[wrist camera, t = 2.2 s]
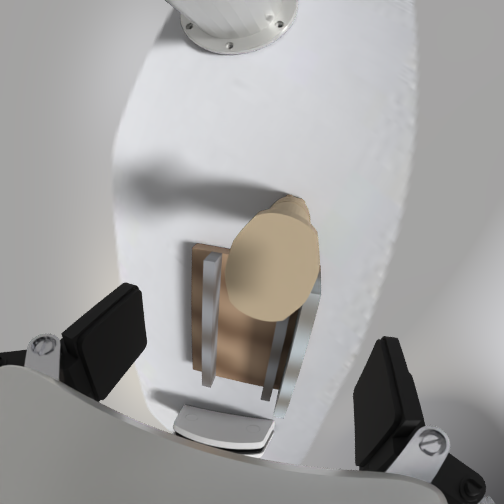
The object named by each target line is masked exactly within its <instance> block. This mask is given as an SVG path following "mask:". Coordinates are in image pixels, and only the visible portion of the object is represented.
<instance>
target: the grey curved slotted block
mask: <svg viewBox="0 0 504 504" xmlns="http://www.w3.org/2000/svg"><path fill="white" fill-rule="evenodd" d="M274 426H275V422H274V420H267V419H259V418H252V417H245V416H239V415H233V414H227V413H221V412H216V411H211V410H206V409H202V408H197V407H193V406H188V405H184V406H183V407H182V409H181V411H180V413H179V414H178V416H177V418H176V420H175V421H174V425H173V429H174V431H175V432H174V435H176V436H179V437H182V438H185V439H188V440H191V441H194V442H197V443H200V444H204V445H207V446H210V447H214V448H218V449H221V450H225V451H229V452H233V453H237V454H241V455H245V456H250V457H255V458H260V457H261V456H262V455H263V453H264V451H265V449H266V447H267V445H268V444H269V442H270V440H271V439H272V436H273V433H274V431H273V428H274Z"/></svg>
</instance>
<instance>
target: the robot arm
mask: <svg viewBox="0 0 504 504" xmlns="http://www.w3.org/2000/svg"><path fill="white" fill-rule="evenodd" d="M165 1H166V2H168V3H169V4H170V5H171V6H173V7H174V8H175V9H177V10H178V11H179V12H180V20H181V25H182V28H183V30H184V32H185V33H186V35H187V36H188V37H189V39H191V40H192V41H193V42H194V43H195V44H197V45H198V46H200V47H202V48H203V49H206V50H208V51H211V52H214V53H219V54H232V55H234V54H243V53H248V52H252V51H256V50H259V49H261V48H263V47H266V46H268V45H270V44H271V43H273V42H275V41H276V40H278V39H279V38H280V37H281V36H282V35H284V34H285V33H286V32H287V30H288V29H289V28H290V27H291V25H292V24H293V22H294V20H295V18H296V15H297V10H298V0H165ZM279 26H283V27H281V28H278V27H279ZM191 28H192V29H191ZM231 46H233V48H231V49H229V48H230V47H231ZM62 337H63V338H62V339H61V340H59V338H58V337H56V336H55V335H52V334H41V335H38V336H36V337H35V338H33V339H32V340H31V341H30V342H29V345H28V347H27V350H21V351H12V352H3V353H0V504H495V503H494V502H493V500H492V499H491V498H490V496H488V497H487V498H486V497H485V496H484V494H485V492H486V485H485V481H484V480H483V478H482V477H481V476H480V475H479V474H478V473H476V472H475V471H473V470H472V469H471V468H469V467H468V466H466V465H465V464H464V463H462V462H461V461H459V460H458V459H457V458H455V457H454V456H452V455H451V454H450V453H449V450H450V440H449V438H448V436H447V434H446V433H445V432H444V431H443V430H442V429H440V428H438V427H436V426H425V422H424V418H423V414H422V410H421V406H420V403H419V399H418V395H417V392H416V388H415V384H414V381H413V378H412V375H411V374H410V373H409V371H408V368H407V365H406V362H405V359H404V355H403V352H402V349H401V346H400V343H399V340H398V338H394V337H386V336H384V337H382V338H381V340H380V339H378V340H377V341H376V343H375V345H374V348H373V350H372V352H371V355H370V357H369V359H368V361H367V364H366V366H365V368H364V370H363V372H362V374H361V376H360V378H359V380H358V382H357V384H356V386H355V389H354V393H353V400H354V422H355V463H356V466H359V471H357V470H340V469H328V468H319V467H309V466H302V465H294V464H288V463H281V462H275V461H270V460H264V459H259V458H255V457H250V456H245V455H241V454H237V453H233V452H229V451H225V450H221V449H218V448H214V447H210V446H207V445H204V444H200V443H197V442H194V441H191V440H188V439H185V438H182V437H179V436H176V435H173V434H170V433H168V432H165V431H162V430H160V429H157V428H155V427H152V426H149V425H147V424H145V423H142V422H140V421H137V420H135V419H133V418H131V417H128V416H126V415H124V414H122V413H120V412H117V411H115V410H113V409H111V408H109V407H107V406H105V405H103V404H101V403H99V401H100V400H104V399H105V398H106V397H107V395H108V394H109V393H110V392H111V390H112V389H113V388H114V387H115V385H116V384H117V383H118V382H119V380H120V379H121V378H122V377H123V375H124V374H125V373H126V372H127V370H128V369H129V368H130V367H131V365H132V364H133V363H134V362H135V360H136V359H137V358H138V357H139V355H140V354H141V353H142V352H143V350H144V349H145V348H146V345H147V337H146V329H145V321H144V312H143V302H142V292H141V291H140V290H139V288H138V286H136V285H132V284H129V283H123V284H122V285H120V286H119V287H118V288H117V289H115V290H114V291H113V292H111V293H110V294H109V295H108V296H106V297H105V298H104V299H103V300H101V301H100V302H99V303H98V304H96V305H95V306H94V307H93V308H91V309H90V310H89V311H88V312H87V313H85V314H84V315H83V316H82V317H81V318H79V319H78V320H77V321H76V322H74V324H72V325H71V326H70V327H68V328H67V330H65V331H64V332H63V333H62Z"/></svg>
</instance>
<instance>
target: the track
mask: <svg viewBox="0 0 504 504" xmlns="http://www.w3.org/2000/svg"><path fill="white" fill-rule="evenodd" d="M229 252H230V249H227V248H221V247H216V246H210V245H205V244H199V243H197V244H196V245H195V246H194V247H192V292H191V305H192V359H193V369H194V370H197V371H201V372H202V385H203V386H206V387H211V385H212V383H213V381H214V378H215V376H219V377H223V378H227V379H231V380H236V381H240V382H244V383H249V384H253V385H258V386H263V391H262V396H261V400H265V401H270V397H271V393H272V389H278V395H277V400H276V405H275V410H274V415H273V417H277V418H283V419H284V417H285V414H286V411H287V408H288V405H289V402H290V399H291V396H292V393H293V390H294V387H295V384H296V381H297V378H298V375H299V372H300V368H301V365H302V362H303V359H304V355H305V352H306V349H307V345H308V342H309V338H310V335H311V331H312V327H313V324H314V320H315V316H316V313H317V309H318V305H319V301H320V297H321V266H319V273H318V276H317V279H316V282H315V284H314V286H313V288H312V291H311V293H310V295H309V297H308V298H307V300H306V302H305V303H304V304H303V305H302V306H301V307H300V308H298V309H297V310H296V311H295V312H293V313H292V314H291V315H290V316H288V317H287V318H286V319H284V320H283V321H274V322H269V321H262V320H259V319H255V318H252V317H250V316H248V315H246V314H244V313H242V312H241V311H239V310H238V309H237V308H236V307H235V306H234V305H233V304H232V303H231V302H230V300H229V296H228V291H227V287H226V282H225V267H226V263H227V259H228V255H229Z"/></svg>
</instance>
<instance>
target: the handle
mask: <svg viewBox="0 0 504 504" xmlns="http://www.w3.org/2000/svg"><path fill="white" fill-rule="evenodd" d="M319 266H320V257H319V243H318V233H317V231H316V229H315V228H314V227H313V226H312V224H311V223H310V214H309V210H308V208H307V206H306V204H305V201H304V200H303V199H302V198H296V197H294V196H292V195H286V197H283V198H281V199H279V200H278V201H276V202H275V203H274V204H273V205H272V206H271V207H270V209H267V210H263V211H260V212H258V213H257V214H256V215H255V216H254V217H253V218H252V220H251V221H250V222H249V223H248V224H247V225H246V226H245V227H244V228H243V229H242V230H241V231H240V233H239V234H238V235H237V236H236V238H235V239H234V241H233V243H232V246H231V248H230V252H229V255H228V259H227V263H226V267H225V282H226V287H227V291H228V296H229V300H230V302H231V303H232V304H233V305H234V306H235V307H236V308H237V309H238V310H239V311H241V312H242V313H244V314H246V315H248V316H250V317H252V318H255V319H259V320H262V321H269V322H274V321H283V320H284V319H286V318H287V317H288V316H290V315H291V314H292V313H293V312H295V311H296V310H297V309H298V308H300V307H301V306H302V305H303V304H304V303H305V302H306V300H307V298H308V297H309V295H310V293H311V291H312V288H313V286H314V284H315V282H316V279H317V276H318V273H319Z"/></svg>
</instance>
